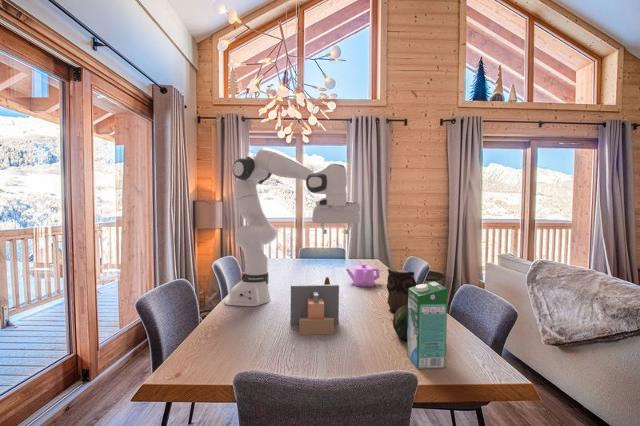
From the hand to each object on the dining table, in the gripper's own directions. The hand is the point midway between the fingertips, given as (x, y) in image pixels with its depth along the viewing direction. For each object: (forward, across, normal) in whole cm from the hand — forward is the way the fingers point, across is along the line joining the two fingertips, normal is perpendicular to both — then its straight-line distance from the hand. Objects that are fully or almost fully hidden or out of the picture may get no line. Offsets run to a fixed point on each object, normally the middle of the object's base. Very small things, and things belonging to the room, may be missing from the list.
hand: (335, 233), depth 136 cm
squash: (+37, -27, +21) cm, 51 cm away
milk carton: (+37, -24, +38) cm, 58 cm away
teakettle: (+37, -26, -58) cm, 74 cm away
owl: (+37, -34, -7) cm, 51 cm away
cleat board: (+37, +9, +7) cm, 39 cm away
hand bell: (+37, +2, -10) cm, 39 cm away
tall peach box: (+34, +9, +9) cm, 36 cm away
